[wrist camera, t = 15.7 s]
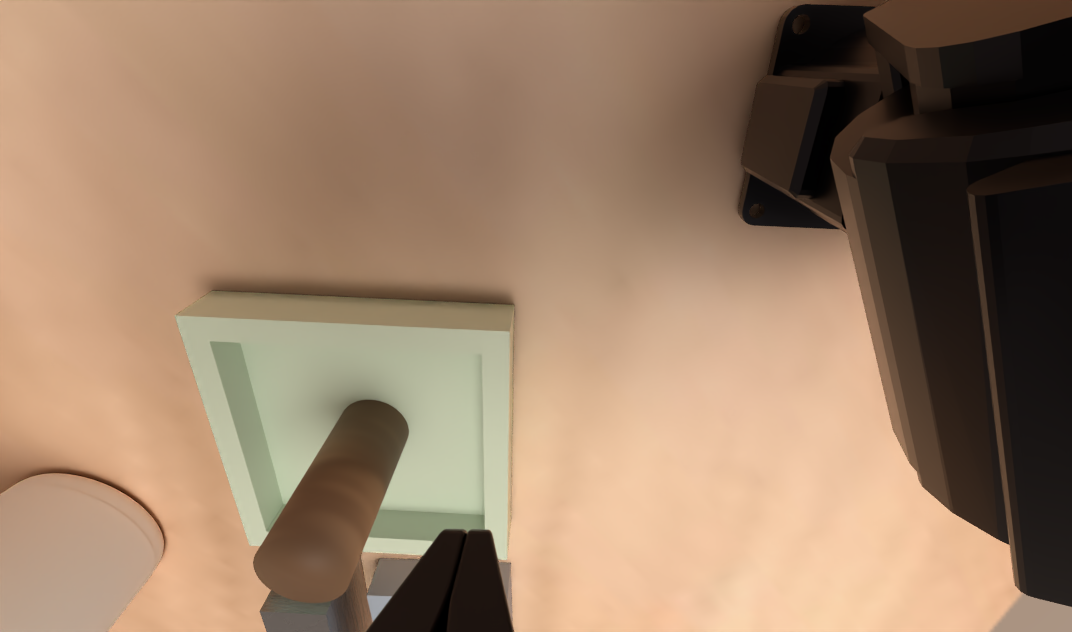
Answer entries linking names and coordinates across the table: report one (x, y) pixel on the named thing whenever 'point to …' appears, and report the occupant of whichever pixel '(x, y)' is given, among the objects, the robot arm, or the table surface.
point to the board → (395, 573)
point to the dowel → (334, 506)
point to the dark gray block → (321, 611)
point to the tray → (352, 375)
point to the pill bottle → (71, 554)
